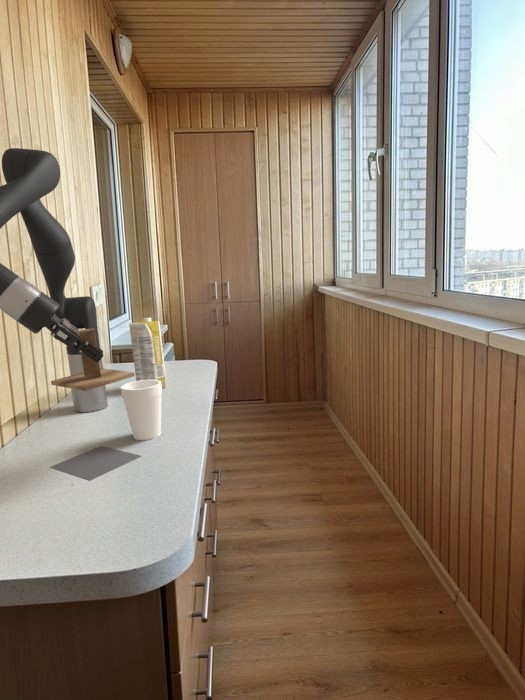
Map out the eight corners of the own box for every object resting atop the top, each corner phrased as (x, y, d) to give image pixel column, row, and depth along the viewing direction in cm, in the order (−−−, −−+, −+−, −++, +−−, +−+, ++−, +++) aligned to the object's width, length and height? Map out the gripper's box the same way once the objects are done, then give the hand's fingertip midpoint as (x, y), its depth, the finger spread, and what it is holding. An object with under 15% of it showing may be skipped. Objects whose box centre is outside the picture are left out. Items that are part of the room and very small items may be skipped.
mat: (49, 468, 101) (49, 467, 101) (101, 447, 112) (101, 445, 112) (90, 482, 93) (89, 480, 93) (142, 457, 104) (141, 455, 104)
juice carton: (170, 386, 164) (162, 316, 159) (153, 393, 157) (144, 319, 153) (150, 384, 169) (142, 316, 164) (133, 390, 162) (124, 319, 158)
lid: (51, 384, 101) (43, 333, 99) (100, 371, 110) (93, 324, 108) (85, 391, 94) (77, 336, 92) (134, 376, 103) (128, 326, 101)
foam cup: (157, 444, 111) (150, 389, 109) (120, 444, 113) (113, 390, 111) (173, 429, 120) (167, 379, 118) (138, 429, 122) (132, 380, 120)
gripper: (36, 292, 89) (113, 348, 96) (43, 289, 102) (111, 338, 109) (9, 324, 89) (89, 378, 95) (20, 316, 102) (89, 364, 108)
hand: (100, 356), depth 102 cm, fingers closed on lid, 3 cm apart
